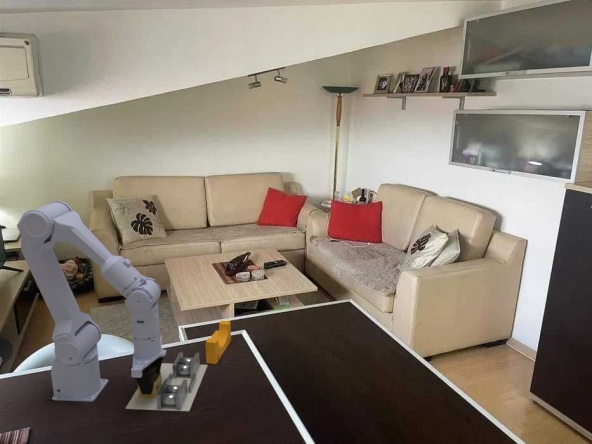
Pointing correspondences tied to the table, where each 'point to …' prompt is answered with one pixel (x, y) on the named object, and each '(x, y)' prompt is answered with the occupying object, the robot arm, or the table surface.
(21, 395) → the table surface
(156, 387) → the tan knob cube
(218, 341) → the pipe clamp
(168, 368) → the mat
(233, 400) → the table surface
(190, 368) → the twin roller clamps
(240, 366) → the table surface
